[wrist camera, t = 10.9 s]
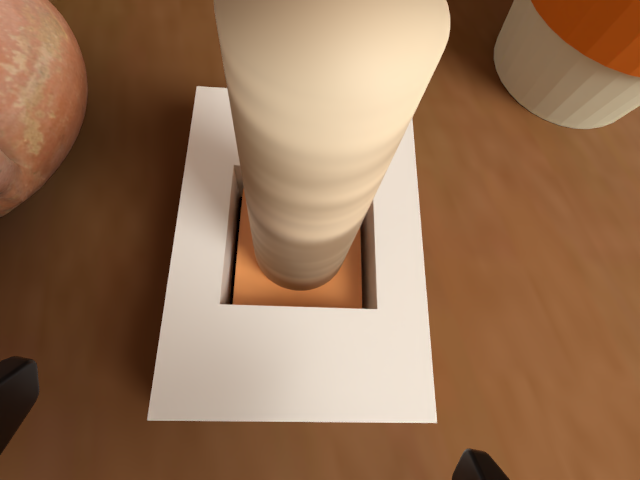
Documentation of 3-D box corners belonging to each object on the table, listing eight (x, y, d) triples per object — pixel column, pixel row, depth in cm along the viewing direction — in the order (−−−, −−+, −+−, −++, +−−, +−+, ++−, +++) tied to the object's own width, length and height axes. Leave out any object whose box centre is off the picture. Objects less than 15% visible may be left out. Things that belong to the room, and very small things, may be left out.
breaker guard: (411, 418, 17) (437, 422, 15) (169, 416, 17) (147, 420, 14) (394, 138, 22) (410, 101, 20) (207, 126, 22) (196, 86, 19)
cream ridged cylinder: (361, 266, 18) (495, 53, 7) (278, 306, 17) (277, 134, 6) (319, 192, 19) (376, -95, 8) (239, 225, 18) (177, -47, 7)
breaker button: (355, 315, 19) (362, 308, 17) (236, 311, 18) (232, 304, 17) (354, 208, 21) (359, 194, 19) (245, 202, 20) (243, 188, 19)
